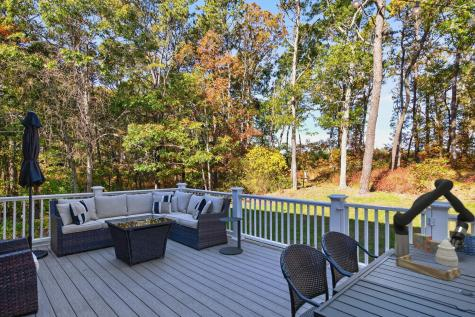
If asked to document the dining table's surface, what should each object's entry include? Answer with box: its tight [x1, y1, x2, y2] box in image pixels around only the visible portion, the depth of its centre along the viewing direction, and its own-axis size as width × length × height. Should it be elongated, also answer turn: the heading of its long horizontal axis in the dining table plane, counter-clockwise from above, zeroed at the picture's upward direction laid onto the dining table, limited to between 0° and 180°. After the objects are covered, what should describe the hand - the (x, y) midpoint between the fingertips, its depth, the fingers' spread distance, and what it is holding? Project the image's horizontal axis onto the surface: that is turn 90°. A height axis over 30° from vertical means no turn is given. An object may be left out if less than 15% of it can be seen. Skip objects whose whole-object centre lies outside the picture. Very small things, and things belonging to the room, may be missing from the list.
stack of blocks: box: [412, 232, 442, 254], centre depth 224 cm, size 21×6×12 cm, turn 20°
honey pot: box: [435, 237, 459, 268], centre depth 194 cm, size 13×13×18 cm
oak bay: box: [395, 254, 461, 282], centre depth 181 cm, size 16×31×5 cm, turn 29°
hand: (452, 253), depth 199 cm, fingers closed
